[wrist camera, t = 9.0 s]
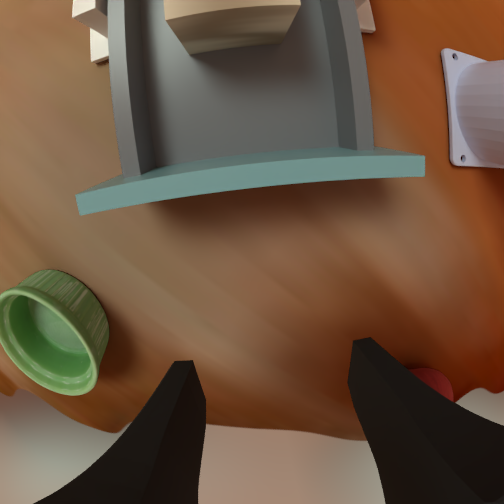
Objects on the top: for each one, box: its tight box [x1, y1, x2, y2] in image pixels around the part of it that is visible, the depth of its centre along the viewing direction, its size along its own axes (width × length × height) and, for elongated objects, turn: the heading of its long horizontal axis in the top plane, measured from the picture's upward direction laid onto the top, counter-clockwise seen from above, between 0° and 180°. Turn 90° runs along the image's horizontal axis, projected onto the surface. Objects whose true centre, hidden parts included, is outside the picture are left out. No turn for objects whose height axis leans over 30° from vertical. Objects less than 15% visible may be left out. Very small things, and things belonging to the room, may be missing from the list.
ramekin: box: [0, 270, 109, 395], centre depth 17 cm, size 9×9×4 cm
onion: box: [408, 368, 453, 401], centre depth 19 cm, size 6×6×8 cm
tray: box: [75, 0, 425, 215], centre depth 9 cm, size 14×13×6 cm
